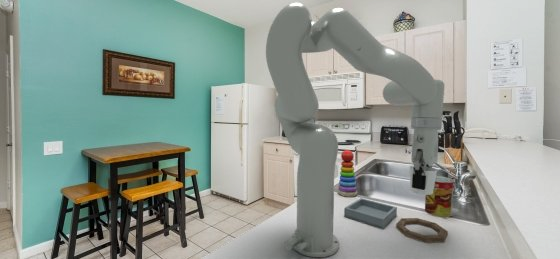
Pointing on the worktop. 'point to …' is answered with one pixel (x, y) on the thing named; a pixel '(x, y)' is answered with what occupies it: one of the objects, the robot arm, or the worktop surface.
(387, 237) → the worktop surface
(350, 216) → the tray
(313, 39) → the robot arm
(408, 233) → the coaster ring
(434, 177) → the white cylinder
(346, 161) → the stacking toy
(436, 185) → the canned food
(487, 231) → the worktop surface
